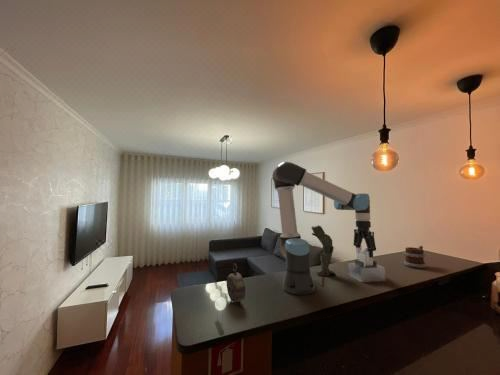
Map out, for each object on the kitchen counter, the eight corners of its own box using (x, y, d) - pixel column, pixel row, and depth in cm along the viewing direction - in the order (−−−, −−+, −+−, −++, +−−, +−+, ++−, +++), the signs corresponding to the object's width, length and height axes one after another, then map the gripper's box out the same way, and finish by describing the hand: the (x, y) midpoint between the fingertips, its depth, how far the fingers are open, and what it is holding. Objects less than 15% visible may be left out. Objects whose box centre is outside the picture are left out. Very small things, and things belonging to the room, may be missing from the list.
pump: (365, 266, 113) (363, 249, 114) (358, 264, 118) (358, 247, 119) (373, 266, 114) (372, 249, 114) (366, 263, 119) (365, 247, 119)
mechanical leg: (339, 271, 125) (324, 222, 128) (343, 275, 118) (328, 223, 121) (316, 276, 126) (303, 228, 129) (319, 280, 119) (305, 229, 122)
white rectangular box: (361, 282, 109) (360, 263, 110) (348, 275, 120) (348, 258, 120) (388, 280, 111) (387, 262, 112) (373, 273, 122) (372, 257, 123)
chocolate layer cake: (398, 265, 138) (399, 242, 140) (412, 266, 143) (412, 244, 145) (418, 270, 127) (419, 245, 129) (432, 271, 132) (432, 247, 134)
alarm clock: (246, 307, 83) (246, 265, 85) (234, 310, 81) (233, 267, 82) (235, 296, 93) (235, 259, 94) (224, 299, 90) (224, 261, 92)
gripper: (383, 221, 108) (385, 266, 106) (357, 219, 129) (358, 256, 127) (370, 221, 107) (372, 266, 105) (346, 219, 128) (347, 256, 126)
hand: (364, 261), depth 116 cm, fingers open, 8 cm apart
